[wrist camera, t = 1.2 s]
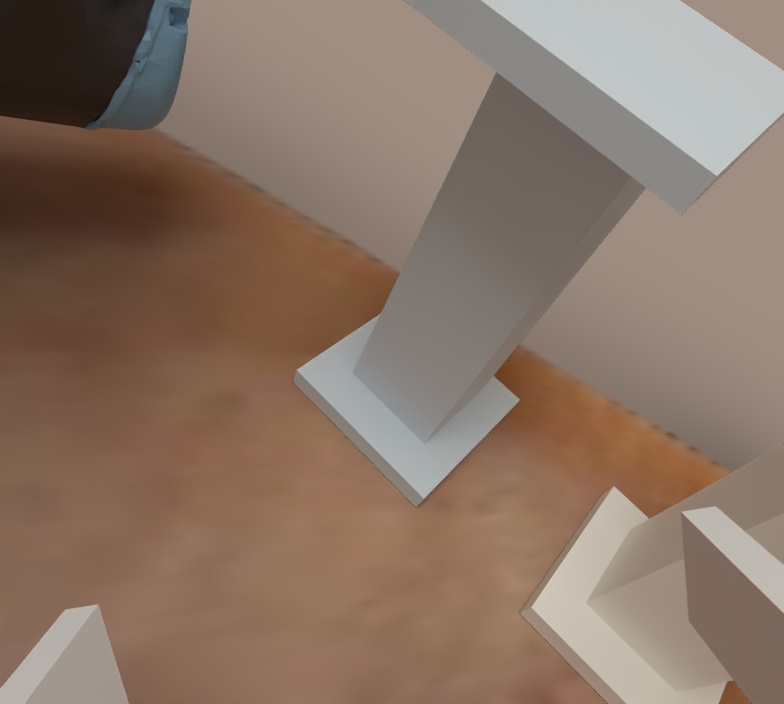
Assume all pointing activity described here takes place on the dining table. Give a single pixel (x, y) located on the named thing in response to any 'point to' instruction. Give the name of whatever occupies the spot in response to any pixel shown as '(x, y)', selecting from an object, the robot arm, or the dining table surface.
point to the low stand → (535, 206)
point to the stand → (648, 590)
